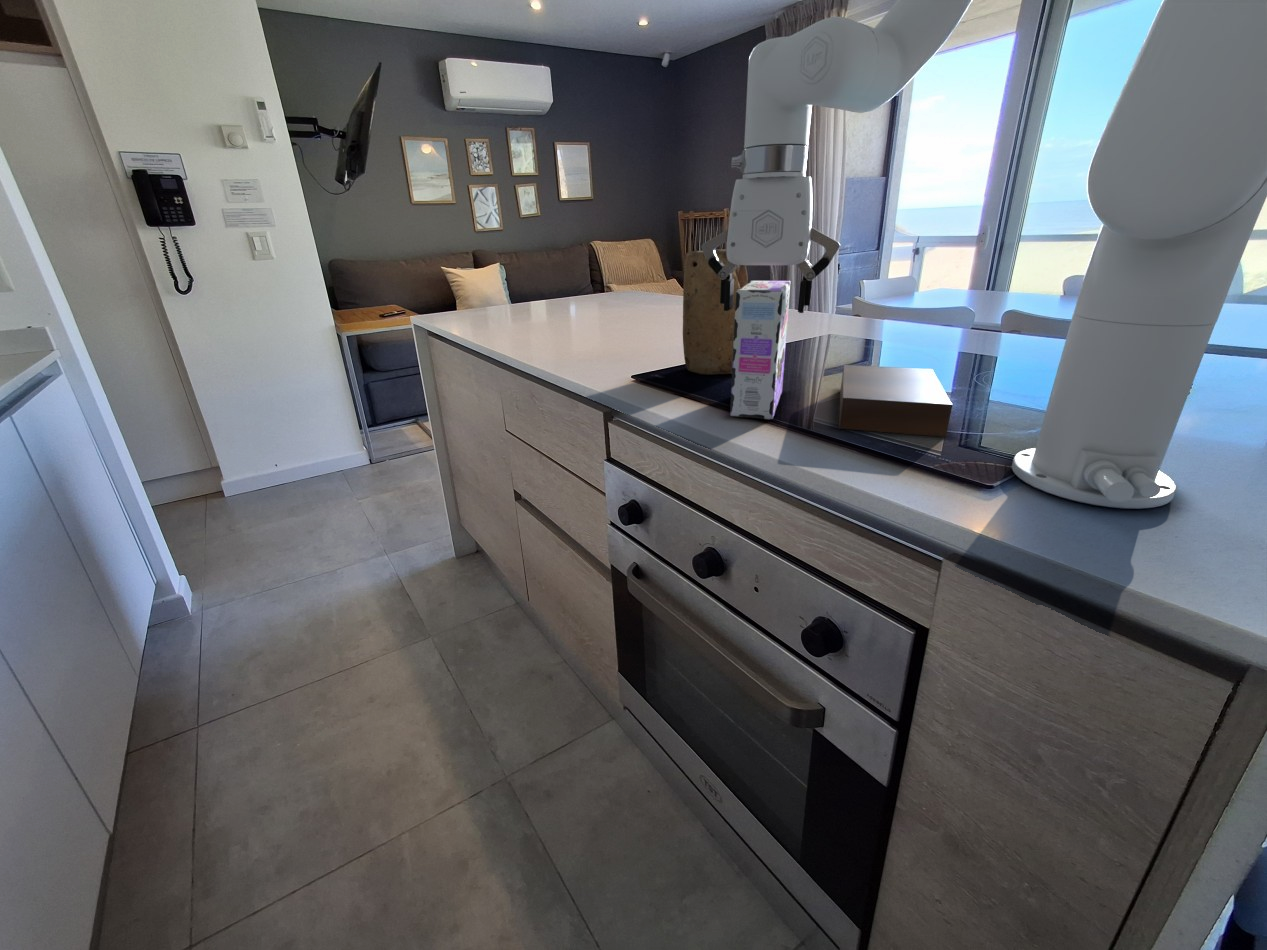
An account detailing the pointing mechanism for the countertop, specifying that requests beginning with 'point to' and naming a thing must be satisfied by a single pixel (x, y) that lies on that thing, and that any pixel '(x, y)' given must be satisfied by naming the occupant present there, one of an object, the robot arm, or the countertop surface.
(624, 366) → the countertop surface
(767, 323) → the candy box
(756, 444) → the countertop surface
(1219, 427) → the countertop surface
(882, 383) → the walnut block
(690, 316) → the block
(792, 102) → the robot arm
